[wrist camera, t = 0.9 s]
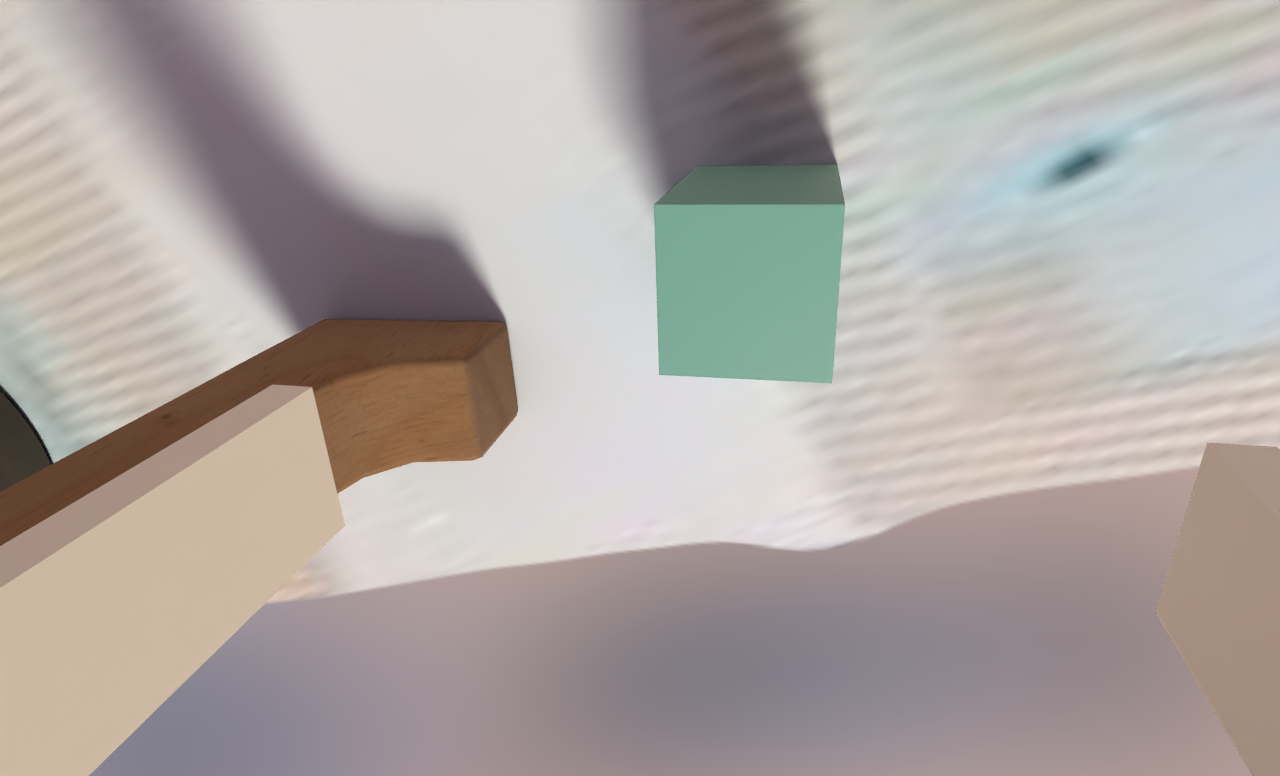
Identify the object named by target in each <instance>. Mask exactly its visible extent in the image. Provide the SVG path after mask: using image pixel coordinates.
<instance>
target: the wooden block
mask: <svg viewBox="0 0 1280 776" xmlns="http://www.w3.org/2000/svg"><path fill="white" fill-rule="evenodd" d="M271 385H287V386H304V387H312V389H313V393H314V397H315V402H316V406H317V410H318V414H319V418H320V423H321V427H322V431H323V435H324V440H325V444H326V448H327V452H328V456H329V461H330V465H331V469H332V473H333V478H334V482H335V486H336V490H337V494H338V493H339V492H341V491H343V490H344V489H346V488H347V487H349V486H351V485H352V484H354V483H355V482H357V481H359V480H360V479H362V478H364V477H367V476H370V475H373V474H377V473H380V472H383V471H386V470H389V469H393V468H396V467H399V466H402V465H405V464H409V463H412V462H436V461H467V460H475V459H478V458H480V457H482V456H483V455H484V454H485V453H486V452H487V450H488V449H489V448H490V447H491V446H492V444H493V443H494V442H495V441H496V440H497V438H498V437H499V436H500V435H501V434H502V432H503V431H504V430H505V429H506V428H507V426H508V425H509V424H510V423H511V422H512V420H513V419H514V418H515V417H516V415H517V412H518V406H517V399H516V392H515V384H514V377H513V370H512V362H511V355H510V348H509V340H508V333H507V328H506V326H505V324H503V323H500V322H471V321H409V320H337V319H324V320H322V321H320V322H318V323H317V324H315V325H313V326H311V327H309V328H307V329H305V330H303V331H302V332H300V333H298V334H296V335H294V336H292V337H290V338H288V339H286V340H284V341H282V342H281V343H279V344H277V345H275V346H273V347H271V348H269V349H267V350H265V351H263V352H261V353H260V354H258V355H256V356H254V357H252V358H250V359H248V360H246V361H245V362H243V363H241V364H239V365H237V366H235V367H233V368H232V369H230V370H228V371H226V372H224V373H222V374H220V375H218V376H217V377H215V378H213V379H211V380H209V381H207V382H205V383H204V384H202V385H200V386H198V387H196V388H194V389H192V390H191V391H189V392H187V393H185V394H183V395H181V396H179V397H177V398H176V399H174V400H172V401H170V402H168V403H166V404H164V405H163V406H161V407H159V408H157V409H155V410H153V411H151V412H149V413H148V414H146V415H144V416H142V417H140V418H138V419H136V420H134V421H132V422H131V423H129V424H127V425H125V426H123V427H121V428H119V429H117V430H116V431H114V432H112V433H110V434H108V435H106V436H104V437H102V438H101V439H99V440H97V441H95V442H93V443H91V444H89V445H87V446H86V447H84V448H82V449H80V450H78V451H76V452H74V453H72V454H71V455H69V456H67V457H65V458H63V459H61V460H59V461H57V462H55V463H54V464H52V465H50V466H48V467H46V468H44V469H42V470H40V471H39V472H37V473H35V474H33V475H31V476H29V477H27V478H25V479H24V480H22V481H20V482H18V483H16V484H14V485H12V486H10V487H9V488H7V489H5V490H3V491H1V492H0V546H1V545H3V544H5V543H6V542H8V541H10V540H11V539H13V538H15V537H16V536H18V535H20V534H22V533H23V532H25V531H27V530H28V529H30V528H32V527H33V526H35V525H37V524H38V523H40V522H42V521H43V520H45V519H47V518H49V517H50V516H52V515H54V514H55V513H57V512H59V511H60V510H62V509H64V508H65V507H67V506H69V505H70V504H72V503H74V502H75V501H77V500H79V499H81V498H82V497H84V496H86V495H87V494H89V493H91V492H92V491H94V490H96V489H97V488H99V487H101V486H102V485H104V484H106V483H107V482H109V481H111V480H113V479H114V478H116V477H118V476H119V475H121V474H123V473H124V472H126V471H128V470H129V469H131V468H133V467H134V466H136V465H138V464H140V463H141V462H143V461H145V460H146V459H148V458H150V457H151V456H153V455H155V454H156V453H158V452H160V451H161V450H163V449H165V448H166V447H168V446H170V445H172V444H173V443H175V442H177V441H178V440H180V439H182V438H183V437H185V436H187V435H188V434H190V433H192V432H193V431H195V430H197V429H198V428H200V427H202V426H204V425H205V424H207V423H209V422H210V421H212V420H214V419H215V418H217V417H219V416H220V415H222V414H224V413H225V412H227V411H229V410H230V409H232V408H234V407H236V406H237V405H239V404H241V403H242V402H244V401H246V400H247V399H249V398H251V397H252V396H254V395H256V394H257V393H259V392H261V391H263V390H264V389H266V388H268V387H269V386H271Z"/></svg>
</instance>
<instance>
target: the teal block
mask: <svg viewBox="0 0 1280 776" xmlns="http://www.w3.org/2000/svg"><path fill="white" fill-rule="evenodd" d="M844 210H845V202H844V197H843V192H842V187H841V181H840V176H839V171H838V166H837V164H817V165H734V166H696V167H695V168H694V169H693V170H692V171H691V172H690V173H688V174H687V175H686V176H685V177H684V178H683V179H682V180H681V181H680V182H679V183H677V184H676V185H675V186H674V187H673V188H672V189H671V190H670V191H669V192H668V193H666V194H665V195H664V196H663V197H662V198H661V199H660V200H659V201H658V202H656V203H655V204H654V218H655V251H656V284H657V317H658V351H659V375H674V376H695V377H715V378H736V379H756V380H777V381H798V382H818V383H832V377H833V363H834V349H835V335H836V321H837V307H838V293H839V280H840V266H841V252H842V238H843V224H844Z"/></svg>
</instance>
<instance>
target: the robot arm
mask: <svg viewBox="0 0 1280 776" xmlns="http://www.w3.org/2000/svg"><path fill="white" fill-rule="evenodd" d="M50 465H51V463H50V461H49V459H48V457H47V455H46V453H45V451H44V449H43V447H42V445H41V443H40V442H39V440H38V438H37V437H36V435H35V434H34V432H33V430H32V429H31V427H30V426H29V425H28V423H27V422H26V420H25V419H24V418H23V417H22V415H21V414H20V413H19V411H18V410H17V409H16V408H15V407H14V406H13V404H12V403H11V402H10V401H9V400H8V399H7V398H6V397H5V396H4V395H3V394H2V393H1V392H0V492H1V491H3V490H5V489H7V488H9V487H10V486H12V485H14V484H16V483H18V482H20V481H22V480H24V479H25V478H27V477H29V476H31V475H33V474H35V473H37V472H39V471H40V470H42V469H44V468H46V467H48V466H50ZM344 526H345V524H344V520H343V516H342V511H341V507H340V503H339V499H338V495H337V490H336V486H335V482H334V478H333V473H332V469H331V465H330V461H329V456H328V452H327V448H326V444H325V440H324V435H323V431H322V427H321V423H320V418H319V414H318V410H317V406H316V402H315V397H314V393H313V389H312V387H304V386H287V385H271V386H269V387H268V388H266V389H264V390H263V391H261V392H259V393H257V394H256V395H254V396H252V397H251V398H249V399H247V400H246V401H244V402H242V403H241V404H239V405H237V406H236V407H234V408H232V409H230V410H229V411H227V412H225V413H224V414H222V415H220V416H219V417H217V418H215V419H214V420H212V421H210V422H209V423H207V424H205V425H204V426H202V427H200V428H198V429H197V430H195V431H193V432H192V433H190V434H188V435H187V436H185V437H183V438H182V439H180V440H178V441H177V442H175V443H173V444H172V445H170V446H168V447H166V448H165V449H163V450H161V451H160V452H158V453H156V454H155V455H153V456H151V457H150V458H148V459H146V460H145V461H143V462H141V463H140V464H138V465H136V466H134V467H133V468H131V469H129V470H128V471H126V472H124V473H123V474H121V475H119V476H118V477H116V478H114V479H113V480H111V481H109V482H107V483H106V484H104V485H102V486H101V487H99V488H97V489H96V490H94V491H92V492H91V493H89V494H87V495H86V496H84V497H82V498H81V499H79V500H77V501H75V502H74V503H72V504H70V505H69V506H67V507H65V508H64V509H62V510H60V511H59V512H57V513H55V514H54V515H52V516H50V517H49V518H47V519H45V520H43V521H42V522H40V523H38V524H37V525H35V526H33V527H32V528H30V529H28V530H27V531H25V532H23V533H22V534H20V535H18V536H16V537H15V538H13V539H11V540H10V541H8V542H6V543H5V544H3V545H1V546H0V776H89V775H90V774H91V773H92V772H93V771H94V770H95V769H96V768H97V767H98V766H99V765H100V764H101V763H102V762H103V761H104V760H105V759H106V758H107V757H108V756H109V755H110V754H111V753H112V752H113V751H114V750H115V749H116V748H117V747H118V746H119V745H120V744H121V743H122V742H124V740H126V739H127V738H128V737H129V736H130V735H131V734H132V733H133V732H134V731H135V730H136V729H137V728H138V727H139V726H140V725H141V724H142V723H143V722H144V721H145V720H146V719H147V718H148V717H149V716H150V715H151V714H152V713H153V712H154V711H155V710H156V709H157V708H158V707H159V706H160V705H161V704H162V703H163V702H164V701H166V699H168V698H169V697H170V696H171V695H172V694H173V693H174V692H175V691H176V690H177V689H178V688H179V687H180V686H181V685H182V684H183V683H184V682H185V681H186V680H187V679H188V678H189V677H190V676H191V675H192V674H193V673H194V672H195V671H196V670H197V669H198V668H199V667H200V666H201V665H202V664H203V663H204V662H205V661H206V660H207V659H208V658H210V657H211V656H212V655H213V654H214V653H215V652H216V651H217V650H218V649H219V648H220V647H221V646H222V645H223V644H224V643H225V642H226V641H227V640H228V639H229V638H230V637H231V636H232V635H233V634H234V633H235V632H236V631H237V630H238V629H239V628H240V627H241V626H242V625H243V624H244V623H245V622H246V621H247V620H248V619H249V618H250V617H251V616H252V615H254V614H255V613H256V612H257V611H258V610H259V609H260V607H262V606H263V605H264V604H265V603H266V602H267V601H268V600H269V599H270V598H271V597H272V596H273V595H274V594H275V593H276V592H277V591H278V590H279V589H280V588H281V587H282V586H283V585H284V584H285V583H286V582H287V581H288V580H289V579H290V578H291V577H292V576H293V575H295V574H296V573H297V572H298V571H299V570H300V569H301V568H302V567H303V566H304V565H305V564H306V563H307V562H308V561H309V560H310V559H311V558H312V557H313V556H314V555H315V554H316V553H317V552H318V551H319V550H320V549H321V548H322V547H323V546H324V545H325V544H326V543H327V542H328V541H329V540H330V539H331V538H332V537H333V536H334V535H335V534H336V533H338V532H339V531H340V530H341V529H342V528H343V527H344ZM1155 613H1156V615H1157V616H1158V618H1159V620H1160V622H1161V623H1162V625H1163V626H1164V628H1165V630H1166V631H1167V633H1168V635H1169V637H1170V638H1171V640H1172V642H1173V643H1174V645H1175V647H1176V648H1177V650H1178V652H1179V653H1180V655H1181V657H1182V658H1183V660H1184V662H1185V663H1186V665H1187V667H1188V668H1189V670H1190V672H1191V673H1192V675H1193V677H1194V678H1195V680H1196V682H1197V684H1198V685H1199V687H1200V689H1201V690H1202V692H1203V693H1204V695H1205V697H1206V699H1207V700H1208V702H1209V703H1210V705H1211V707H1212V709H1213V710H1214V712H1215V714H1216V715H1217V717H1218V719H1219V720H1220V722H1221V724H1222V725H1223V727H1224V729H1225V730H1226V732H1227V734H1228V736H1229V737H1230V739H1231V741H1232V742H1233V744H1234V746H1235V747H1236V749H1237V751H1238V752H1239V754H1240V756H1241V757H1242V759H1243V761H1244V762H1245V764H1246V766H1247V767H1248V769H1249V771H1250V772H1251V774H1252V776H1280V450H1279V449H1278V448H1277V447H1267V446H1251V445H1235V444H1219V443H1207V445H1206V448H1205V451H1204V454H1203V458H1202V461H1201V464H1200V468H1199V471H1198V474H1197V477H1196V481H1195V484H1194V488H1193V491H1192V494H1191V497H1190V501H1189V504H1188V507H1187V510H1186V514H1185V517H1184V520H1183V523H1182V527H1181V530H1180V534H1179V537H1178V540H1177V543H1176V546H1175V550H1174V553H1173V556H1172V559H1171V563H1170V566H1169V569H1168V573H1167V576H1166V580H1165V582H1164V586H1163V589H1162V593H1161V596H1160V599H1159V602H1158V605H1157V609H1156V612H1155Z"/></svg>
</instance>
